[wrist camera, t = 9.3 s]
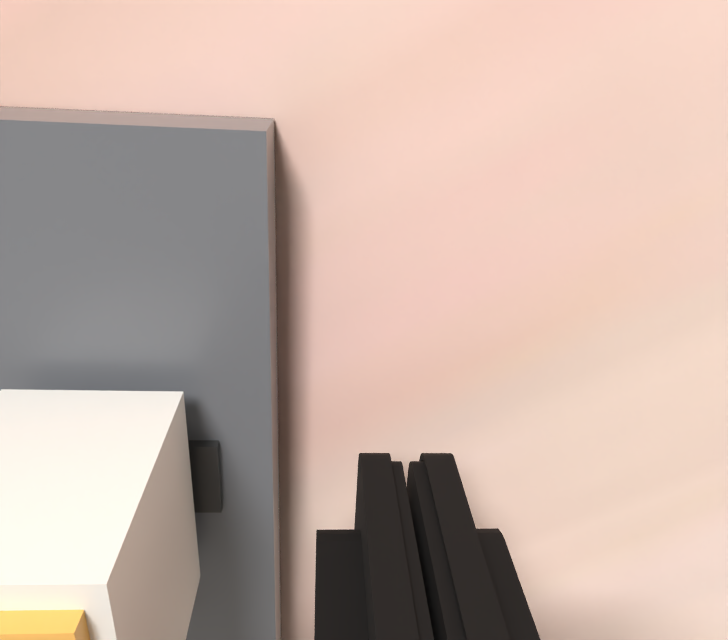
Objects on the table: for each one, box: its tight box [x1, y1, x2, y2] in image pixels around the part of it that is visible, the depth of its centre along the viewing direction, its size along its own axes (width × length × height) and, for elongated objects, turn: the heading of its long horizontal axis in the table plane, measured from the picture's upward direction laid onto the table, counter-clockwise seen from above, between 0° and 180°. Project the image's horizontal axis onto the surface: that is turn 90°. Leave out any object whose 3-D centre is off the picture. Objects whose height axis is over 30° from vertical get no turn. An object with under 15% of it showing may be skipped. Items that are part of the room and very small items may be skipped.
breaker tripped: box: [0, 389, 200, 640], centre depth 9 cm, size 3×4×4 cm
